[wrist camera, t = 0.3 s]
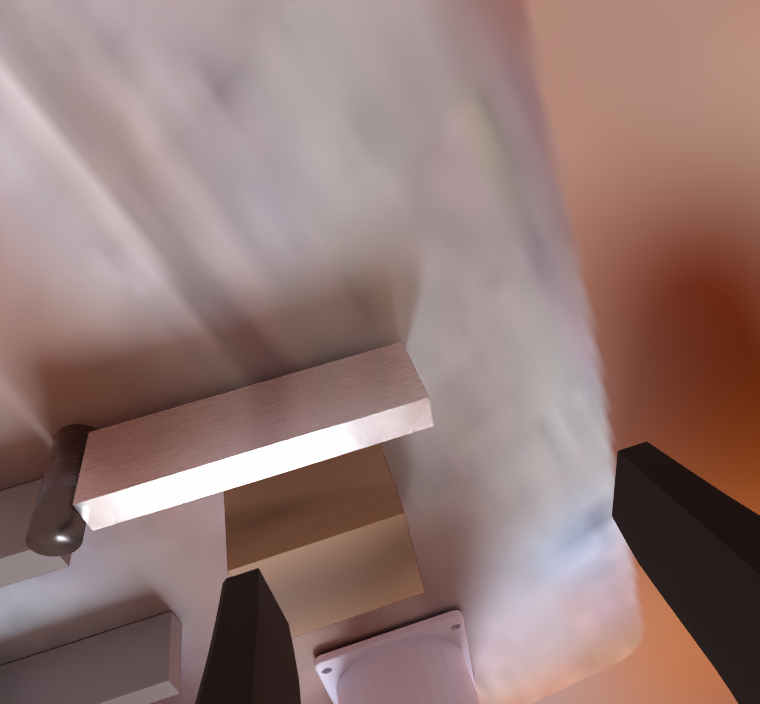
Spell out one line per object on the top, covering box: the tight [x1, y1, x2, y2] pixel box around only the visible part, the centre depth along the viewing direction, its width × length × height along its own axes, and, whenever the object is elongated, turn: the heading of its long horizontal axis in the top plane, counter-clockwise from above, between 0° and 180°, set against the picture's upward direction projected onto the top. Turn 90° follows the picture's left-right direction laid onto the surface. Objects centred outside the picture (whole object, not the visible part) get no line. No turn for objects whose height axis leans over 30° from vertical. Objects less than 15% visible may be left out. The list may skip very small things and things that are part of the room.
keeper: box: [25, 341, 434, 557], centre depth 18 cm, size 12×1×4 cm, turn 100°
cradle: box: [0, 478, 182, 704], centre depth 22 cm, size 10×9×3 cm
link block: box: [224, 443, 425, 638], centre depth 22 cm, size 5×6×4 cm
